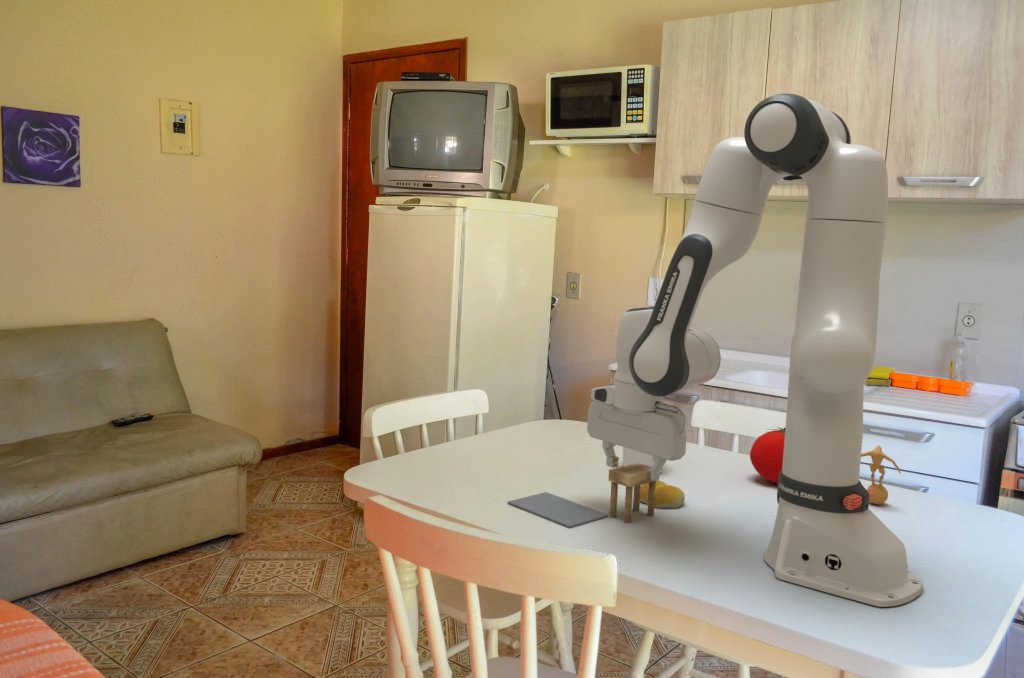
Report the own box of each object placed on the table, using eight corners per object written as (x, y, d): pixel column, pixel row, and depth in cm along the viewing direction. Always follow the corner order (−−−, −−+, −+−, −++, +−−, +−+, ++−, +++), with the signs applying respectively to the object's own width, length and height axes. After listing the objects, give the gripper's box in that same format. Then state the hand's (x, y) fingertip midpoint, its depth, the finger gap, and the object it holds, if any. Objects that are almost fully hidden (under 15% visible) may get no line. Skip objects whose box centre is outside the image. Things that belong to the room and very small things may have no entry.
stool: (656, 514, 148) (659, 469, 147) (628, 523, 143) (630, 476, 142) (635, 507, 152) (637, 463, 151) (606, 516, 147) (608, 469, 146)
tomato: (816, 495, 164) (821, 439, 163) (745, 485, 169) (749, 431, 168) (818, 479, 176) (822, 427, 174) (751, 470, 181) (755, 419, 179)
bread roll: (666, 513, 150) (667, 492, 150) (629, 500, 157) (630, 480, 157) (694, 504, 156) (695, 484, 155) (657, 492, 162) (658, 473, 162)
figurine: (901, 506, 159) (907, 446, 157) (893, 513, 154) (899, 451, 153) (856, 497, 164) (862, 438, 163) (847, 503, 159) (853, 443, 158)
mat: (608, 516, 146) (608, 514, 146) (569, 528, 140) (569, 526, 140) (546, 494, 158) (546, 492, 158) (507, 503, 151) (507, 501, 151)
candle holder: (672, 469, 179) (675, 415, 178) (654, 479, 171) (658, 423, 169) (630, 461, 184) (633, 409, 183) (611, 471, 176) (614, 416, 174)
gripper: (697, 406, 140) (690, 485, 141) (607, 385, 155) (602, 457, 156) (674, 410, 135) (667, 491, 137) (584, 388, 151) (579, 461, 152)
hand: (631, 472), depth 147 cm, fingers open, 8 cm apart
